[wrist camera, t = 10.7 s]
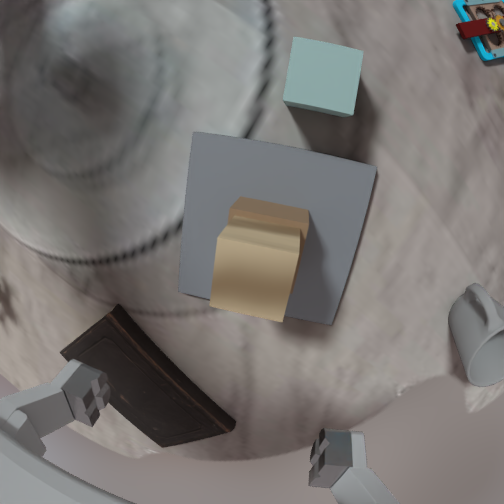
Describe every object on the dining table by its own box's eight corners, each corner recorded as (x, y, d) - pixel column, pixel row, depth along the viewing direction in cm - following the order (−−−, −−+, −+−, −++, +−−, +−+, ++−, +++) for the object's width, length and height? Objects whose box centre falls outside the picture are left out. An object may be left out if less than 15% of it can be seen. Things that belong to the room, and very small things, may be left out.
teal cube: (295, 52, 23) (293, 36, 18) (353, 64, 22) (363, 51, 18) (286, 105, 25) (282, 100, 20) (344, 117, 24) (353, 115, 20)
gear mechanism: (493, 130, 22) (546, 110, 19) (524, 133, 17) (577, 112, 14) (401, -47, 17) (465, -52, 14) (415, -72, 12) (484, -71, 9)
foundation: (196, 131, 27) (174, 133, 22) (375, 166, 25) (389, 174, 21) (180, 288, 33) (162, 313, 28) (330, 320, 32) (333, 351, 27)
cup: (446, 348, 31) (470, 398, 23) (428, 283, 29) (459, 331, 21) (497, 319, 29) (529, 363, 21) (486, 250, 26) (529, 288, 18)
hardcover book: (166, 438, 46) (162, 448, 44) (67, 344, 41) (59, 352, 39) (237, 418, 41) (234, 430, 39) (121, 301, 36) (111, 311, 34)
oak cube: (234, 215, 24) (217, 237, 19) (300, 228, 23) (299, 254, 19) (226, 274, 26) (209, 306, 21) (286, 287, 25) (282, 322, 21)
